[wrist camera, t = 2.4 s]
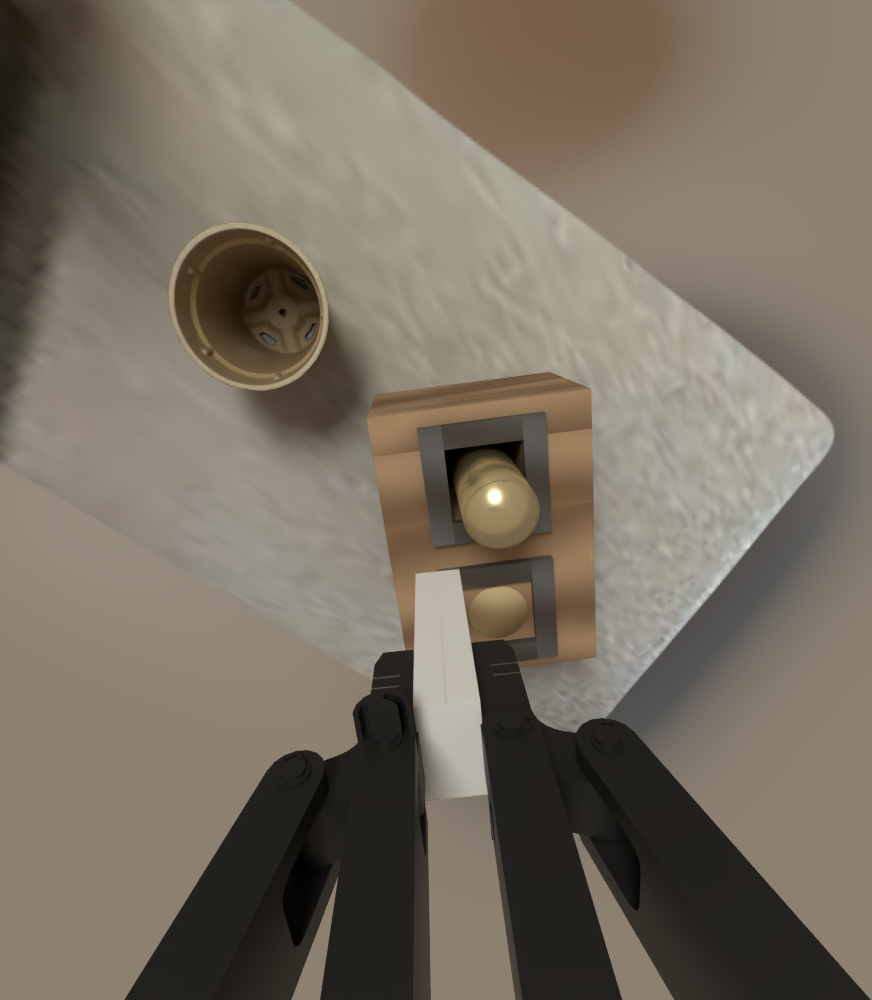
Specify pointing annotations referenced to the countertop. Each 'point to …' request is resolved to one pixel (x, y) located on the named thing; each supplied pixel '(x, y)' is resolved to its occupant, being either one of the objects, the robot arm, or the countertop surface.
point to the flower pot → (247, 306)
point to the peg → (493, 497)
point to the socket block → (438, 521)
